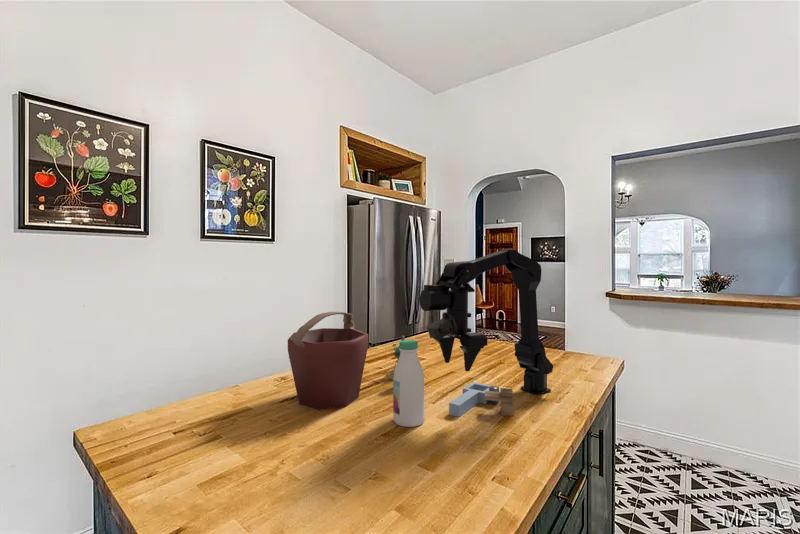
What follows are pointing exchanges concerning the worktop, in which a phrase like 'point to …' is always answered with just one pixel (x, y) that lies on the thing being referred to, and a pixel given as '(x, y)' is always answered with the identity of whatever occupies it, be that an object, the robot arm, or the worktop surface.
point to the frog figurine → (391, 373)
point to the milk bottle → (408, 387)
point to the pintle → (495, 389)
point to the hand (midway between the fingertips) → (456, 366)
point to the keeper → (502, 400)
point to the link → (468, 399)
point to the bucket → (327, 363)
